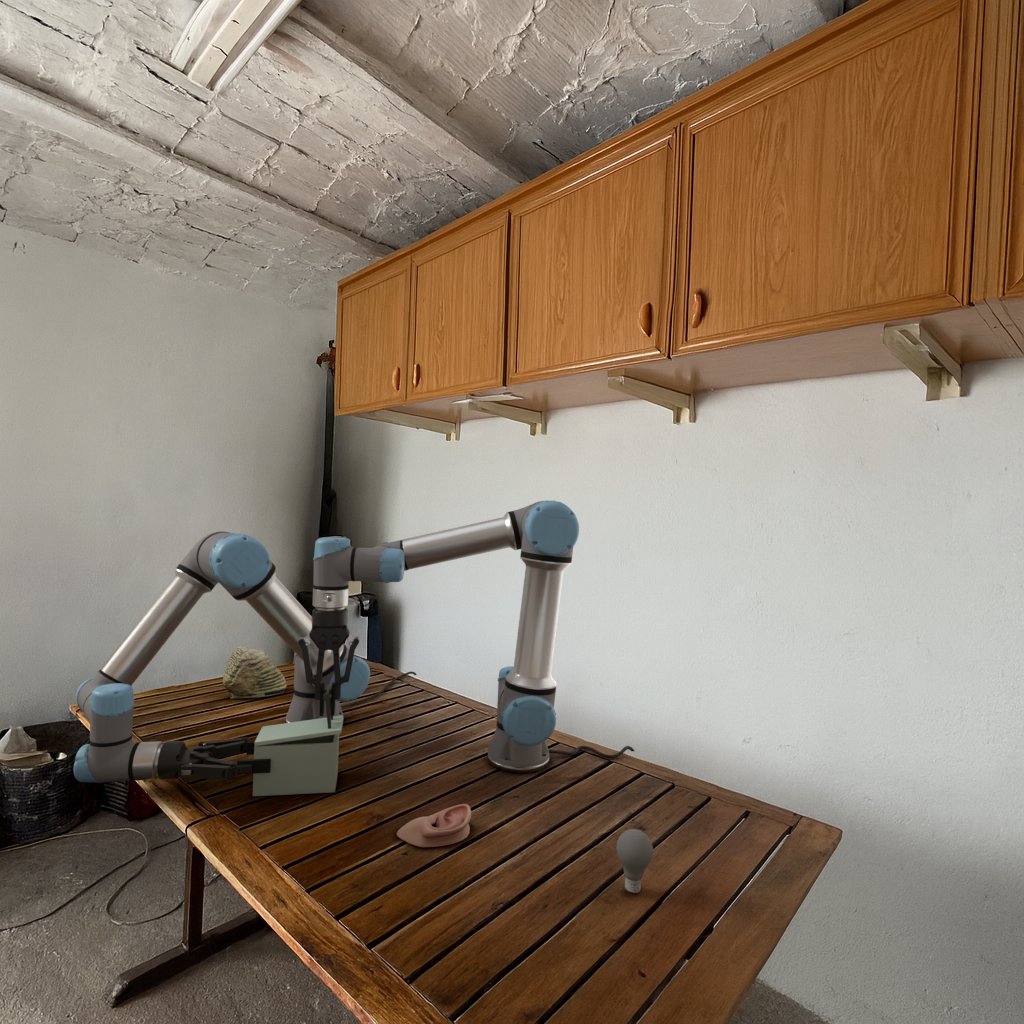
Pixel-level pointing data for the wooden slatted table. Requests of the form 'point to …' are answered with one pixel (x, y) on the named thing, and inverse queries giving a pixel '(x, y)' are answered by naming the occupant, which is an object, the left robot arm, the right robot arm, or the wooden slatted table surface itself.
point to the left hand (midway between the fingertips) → (274, 756)
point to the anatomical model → (438, 827)
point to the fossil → (252, 674)
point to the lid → (302, 727)
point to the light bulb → (634, 857)
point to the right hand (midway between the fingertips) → (327, 713)
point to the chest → (298, 766)
